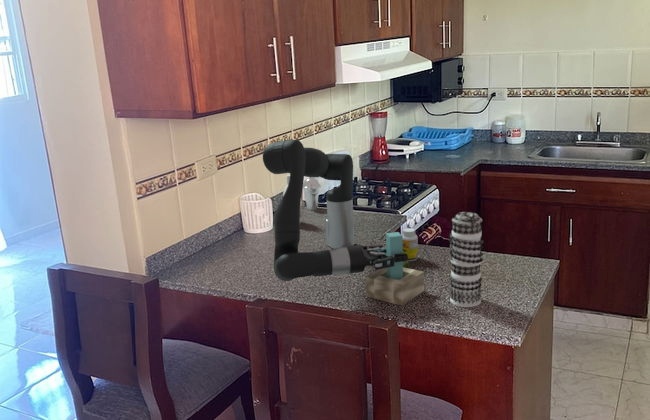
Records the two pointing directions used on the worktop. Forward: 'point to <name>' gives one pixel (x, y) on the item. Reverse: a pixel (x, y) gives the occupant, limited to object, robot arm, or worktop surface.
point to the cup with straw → (311, 193)
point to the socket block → (395, 286)
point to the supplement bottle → (410, 244)
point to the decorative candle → (466, 259)
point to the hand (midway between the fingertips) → (403, 253)
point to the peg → (394, 247)
